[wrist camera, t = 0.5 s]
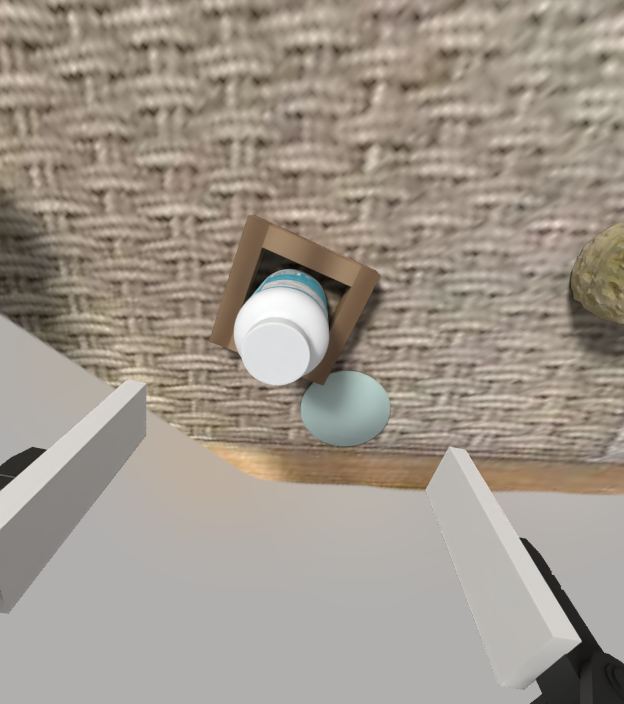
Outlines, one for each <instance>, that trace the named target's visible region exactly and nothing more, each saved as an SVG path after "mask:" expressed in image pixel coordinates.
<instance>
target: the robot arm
mask: <svg viewBox="0 0 624 704" xmlns="http://www.w3.org/2000/svg"><path fill="white" fill-rule="evenodd" d="M145 436H146V383H141V382H137V381H132V380H126V381H125V382H124V383H123V384H122V385H121V386H119V387H118V388H117V389H116V390H115V391H114V392H113V393H111V394H110V395H109V396H108V397H107V398H106V399H105V400H103V401H102V402H101V403H100V404H99V405H98V406H97V407H96V408H95V409H93V410H92V411H91V412H90V413H89V414H88V415H87V416H85V417H84V418H83V419H82V420H81V421H80V422H78V423H77V424H76V425H75V426H74V427H73V428H72V429H70V430H69V431H68V432H67V433H66V434H65V435H64V436H62V437H61V438H60V439H59V440H58V441H57V442H56V443H55V444H53V445H52V446H51V447H50V448H49V449H48V450H45V449H40V448H35V447H31V448H29V449H28V450H25V451H23V452H22V453H19V454H17V455H15V456H13V457H11V458H10V459H9V460H7V461H6V462H5V463H3V464H2V465H1V466H0V613H8V614H9V612H10V611H11V610H12V608H13V607H14V606H15V605H16V603H17V602H18V601H19V599H20V598H21V597H22V595H23V594H24V593H25V592H26V590H27V589H28V588H29V586H30V585H31V584H32V582H33V581H34V580H35V579H36V577H37V576H38V575H39V573H40V572H41V571H42V569H43V568H44V567H45V566H46V564H47V563H48V562H49V560H50V559H51V558H52V557H53V555H54V554H55V553H56V551H57V550H58V549H59V547H60V546H61V545H62V544H63V542H64V541H65V540H66V538H67V537H68V536H69V535H70V533H71V532H72V531H73V529H74V528H75V527H76V525H77V524H78V523H79V522H80V520H81V519H82V518H83V516H84V515H85V514H86V513H87V511H88V510H89V509H90V507H91V506H92V505H93V503H94V502H95V501H96V500H97V498H98V497H99V496H100V494H101V493H102V492H103V490H104V489H105V488H106V487H107V485H108V484H109V483H110V482H111V480H112V479H113V478H114V476H115V475H116V474H117V472H118V471H119V470H120V469H121V467H122V466H123V465H124V463H125V462H126V461H127V460H128V458H129V457H130V456H131V454H132V453H133V451H134V450H135V449H136V448H137V447H138V445H139V444H140V443H141V441H142V440H143V439H144V437H145ZM425 491H426V494H427V496H428V499H429V502H430V504H431V507H432V509H433V512H434V515H435V517H436V520H437V523H438V525H439V528H440V531H441V533H442V536H443V539H444V541H445V544H446V546H447V549H448V552H449V555H450V557H451V560H452V563H453V565H454V568H455V570H456V573H457V576H458V578H459V581H460V584H461V586H462V589H463V592H464V594H465V597H466V600H467V602H468V605H469V608H470V610H471V613H472V616H473V618H474V621H475V624H476V626H477V629H478V632H479V634H480V637H481V639H482V642H483V645H484V648H485V650H486V653H487V655H488V658H489V661H490V664H491V666H492V669H493V671H494V674H495V677H496V680H497V682H498V685H499V686H502V687H509V688H516V689H523V690H524V689H525V688H526V687H528V686H529V685H530V684H531V683H533V682H534V681H535V680H536V681H537V683H538V685H539V687H540V690H541V692H542V695H540V696H539V697H538V698H537V699H535V700H534V701H533V702H531V703H530V704H624V664H623V663H622V662H621V661H619V660H618V659H616V658H614V657H613V656H611V655H610V654H606V653H604V652H603V650H602V649H601V647H600V646H599V645H598V643H597V642H596V640H595V638H594V637H593V635H592V634H591V632H590V631H589V629H588V627H587V626H586V624H585V623H584V621H583V620H582V618H581V617H580V615H579V614H578V612H577V610H576V609H575V607H574V606H573V604H572V603H571V601H570V599H569V598H568V596H567V595H566V593H565V592H564V590H562V589H561V585H560V584H559V582H558V581H557V579H556V578H555V576H554V575H552V573H551V572H552V571H551V570H550V568H549V567H548V565H547V564H546V562H545V560H544V559H543V557H542V556H541V555H540V553H539V552H538V551H537V550H536V549H535V548H534V547H533V546H532V545H531V544H530V543H529V542H528V540H527V539H525V538H519V537H518V536H517V534H516V532H515V531H514V529H513V527H512V526H511V524H510V522H509V521H508V519H507V517H506V516H505V514H504V512H503V511H502V509H501V508H500V506H499V504H498V503H497V501H496V499H495V498H494V496H493V494H492V493H491V491H490V489H489V488H488V486H487V484H486V483H485V481H484V480H483V478H482V476H481V475H480V473H479V471H478V470H477V468H476V466H475V465H474V463H473V461H472V460H471V458H470V457H469V455H468V453H467V452H466V450H463V449H458V448H454V447H449V448H448V450H447V452H446V453H445V455H444V457H443V459H442V461H441V463H440V464H439V466H438V468H437V470H436V472H435V473H434V475H433V477H432V479H431V481H430V483H429V484H428V486H427V488H426V490H425Z"/></svg>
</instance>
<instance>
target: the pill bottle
mask: <svg viewBox="0 0 624 704" xmlns="http://www.w3.org/2000/svg"><path fill="white" fill-rule="evenodd" d="M234 341H235V345H236V348H237V351H238V353H239V355H240V356H241V358H242V361H243V363H244V366H245V367H246V369H247V371H248V372H249V373H250V374H251V375H252V376H253V377H254V378H256V379H257V380H259V381H261V382H263V383H266V384H269V385H286V384H289V383H292V382H294V381H296V380H297V379H299V378H300V377H302V376H304V375H306V374H308V373H309V372H311V371H312V370H313V369H314V368H315V367H316V366H317V365H318V364H319V363H320V362H321V361H322V359H323V357H324V355H325V353H326V351H327V348H328V344H329V323H328V311H327V300H326V295H325V292H324V290H323V288H322V286H321V285H320V283H319V282H318V281H317V280H316V279H315V278H314V277H313V276H311V275H310V274H308V273H306V272H304V271H301V270H297V269H284V270H280V271H277V272H275V273H273V274H271V275H270V276H269V277H267V278H266V279H265V280H264V281H263V283H262V284H261V285H260V286H259V287H258V289H257V290H256V291H255V292H254V293H253V295H252V296H251V297H250V298H249V299H248V300H247V302H246V303H245V304H244V305H243V307H242V308H241V310H240V311H239V313H238V315H237V318H236V321H235V325H234Z"/></svg>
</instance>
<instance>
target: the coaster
mask: <svg viewBox="0 0 624 704" xmlns="http://www.w3.org/2000/svg"><path fill="white" fill-rule="evenodd" d="M389 416H390V401H389V397H388V395H387V393H386V391H385V389H384V388H383V386H382V385H381V384H380V383H379V382H378V381H377V380H375V379H374V378H372V377H371V376H369V375H367V374H364V373H361V372H357V371H350V370H341V371H335V372H331V373H330V374H329V376H328V378H327V380H326V382H325V384H324V386H322V385H320V384H317V383H315V382H313V383H312V384H311V385H310V386H309V387H308V389H307V390H306V392H305V393H304V396H303V398H302V402H301V417H302V420H303V423H304V425H305V427H306V428H307V429H308V431H309V432H310V433H311V434H312V435H313V436H314V437H316V438H317V439H319V440H321V441H323V442H325V443H327V444H331V445H335V446H354V445H359V444H362V443H365V442H367V441H369V440H371V439H372V438H374V437H375V436H376V435H378V434H379V433H380V432H381V431H382V430H383V428H384V427H385V425H386V424H387V422H388V419H389Z"/></svg>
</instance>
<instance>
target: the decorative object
mask: <svg viewBox="0 0 624 704" xmlns="http://www.w3.org/2000/svg"><path fill="white" fill-rule="evenodd" d="M577 257H578V259H577V260H576V261H575V264H574V267H573V271H572V275H571V289H572V292H573V300H575V301H579V302H581V304H582V305H583V307H584V308H585V309H586V310H588V311H590V312H592V313H593V314H594V315H595V316H597V317H599V318H601V319H604V320H608V321H611V322H616V323H620V324H624V222H622V223H618V224H615V225H613V226H611V227H610V228H608V229H606V230H604V231H603V232H602V233H600V234H599V235H597V236H596V237H594V238H593V239H591V240H590V242H589V243H588V244H586V245H585V247H584V248H583V250H582V252H581V254H580V255H579V256H577Z"/></svg>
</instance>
